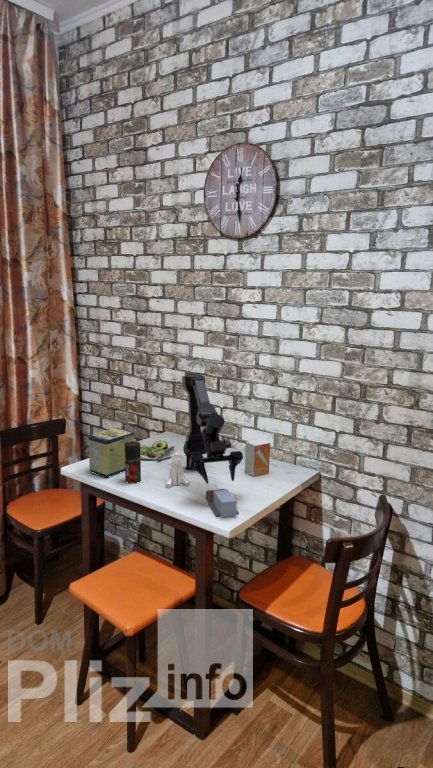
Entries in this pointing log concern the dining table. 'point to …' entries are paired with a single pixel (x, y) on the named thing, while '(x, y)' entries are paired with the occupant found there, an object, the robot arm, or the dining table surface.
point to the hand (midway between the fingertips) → (220, 481)
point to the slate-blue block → (224, 502)
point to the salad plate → (157, 451)
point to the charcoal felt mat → (217, 510)
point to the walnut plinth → (210, 495)
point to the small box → (257, 457)
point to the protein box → (108, 451)
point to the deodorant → (132, 462)
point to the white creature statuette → (177, 472)
